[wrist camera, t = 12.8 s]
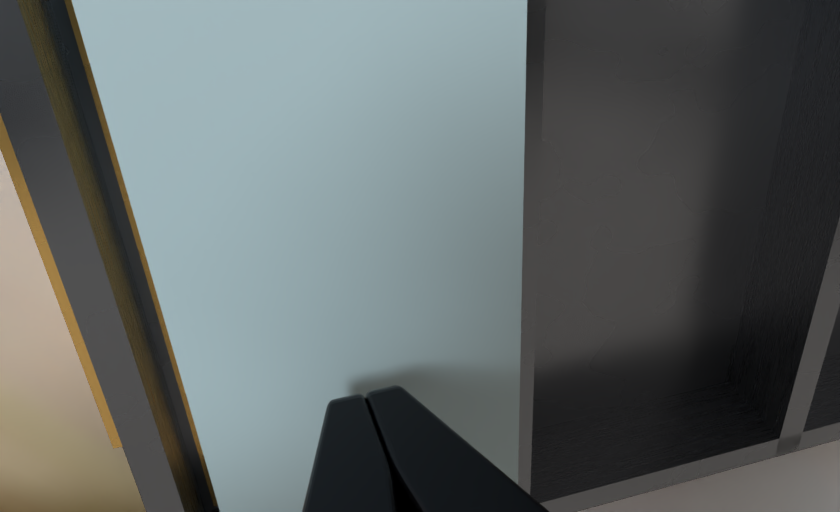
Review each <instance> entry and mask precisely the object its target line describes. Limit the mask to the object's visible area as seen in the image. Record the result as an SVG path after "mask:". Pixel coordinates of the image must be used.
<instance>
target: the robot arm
mask: <svg viewBox="0 0 840 512" xmlns="http://www.w3.org/2000/svg"><path fill="white" fill-rule="evenodd" d="M302 512H549V511H548V510H547V509H546V508H545V507H544V506H542V505H541V504H540V503H539V502H538V501H536V500H535V499H534V498H533V497H532V496H531V495H529V494H528V493H527V492H526V491H525V490H523V489H522V488H521V487H520V486H519V485H518V484H516V483H515V482H514V481H513V480H512V479H510V478H509V477H508V476H507V475H506V474H505V473H503V472H502V471H501V470H500V469H499V468H497V467H496V466H495V465H494V464H493V463H492V462H490V461H489V460H488V459H487V458H486V457H484V456H483V455H482V454H481V453H480V452H479V451H477V450H476V449H475V448H474V447H473V446H471V445H470V444H469V443H468V442H467V441H466V440H464V439H463V438H462V437H461V436H460V435H458V434H457V433H456V432H455V431H454V430H453V429H451V428H450V427H449V426H448V425H447V424H445V423H444V422H443V421H442V420H441V419H440V418H438V417H437V416H436V415H435V414H434V413H432V412H431V411H430V410H429V409H428V408H427V407H425V406H424V405H423V404H422V403H421V402H419V401H418V400H417V399H416V398H415V397H414V396H412V395H411V394H410V393H409V392H408V391H406V390H405V389H404V388H403V387H401V386H398V385H393V386H389V387H385V388H380V389H376V390H371V391H369V392H368V393H367V394H366V396H365V397H364V396H363V395H362V394H354V395H350V396H345V397H341V398H337V399H333V400H331V401H330V402H329V403H328V405H327V408H326V412H325V416H324V420H323V425H322V429H321V433H320V437H319V441H318V446H317V450H316V454H315V458H314V462H313V467H312V471H311V475H310V479H309V484H308V488H307V492H306V496H305V500H304V505H303V509H302Z"/></svg>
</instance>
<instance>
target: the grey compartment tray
mask: <svg viewBox="0 0 840 512" xmlns="http://www.w3.org/2000/svg"><path fill="white" fill-rule="evenodd" d="M0 149H1V152H2V154H3V157H4V160H5V162H6V165H7V168H8V170H9V173H10V176H11V178H12V181H13V184H14V186H15V189H16V191H17V194H18V197H19V199H20V202H21V205H22V207H23V210H24V213H25V215H26V218H27V221H28V223H29V226H30V229H31V231H32V234H33V237H34V239H35V242H36V245H37V247H38V250H39V253H40V255H41V258H42V260H43V263H44V266H45V268H46V271H47V274H48V276H49V279H50V282H51V284H52V287H53V290H54V292H55V295H56V298H57V300H58V303H59V306H60V308H61V311H62V314H63V316H64V319H65V322H66V324H67V327H68V329H69V332H70V335H71V337H72V340H73V343H74V345H75V348H76V351H77V353H78V356H79V359H80V361H81V364H82V367H83V369H84V372H85V375H86V377H87V380H88V383H89V385H90V388H91V391H92V393H93V396H94V398H95V401H96V404H97V406H98V409H99V412H100V414H101V417H102V420H103V422H104V425H105V428H106V430H107V433H108V436H109V438H110V441H111V444H112V446H113V449H114V448H118V447H123V449H124V452H125V455H126V457H127V460H128V463H129V465H130V468H131V471H132V474H133V476H134V479H135V482H136V485H137V487H138V490H139V493H140V495H141V498H142V501H143V504H144V506H145V509H146V512H220V510H219V507H218V503H217V500H216V496H215V493H214V489H213V486H212V482H211V479H210V476H209V472H208V469H207V465H206V462H205V458H204V455H203V451H202V448H201V445H200V441H199V438H198V434H197V431H196V427H195V424H194V420H193V417H192V414H191V410H190V407H189V403H188V400H187V396H186V393H185V389H184V386H183V383H182V379H181V376H180V372H179V369H178V365H177V362H176V359H175V355H174V352H173V348H172V345H171V341H170V338H169V334H168V331H167V328H166V324H165V321H164V317H163V314H162V310H161V307H160V303H159V300H158V297H157V293H156V290H155V286H154V283H153V279H152V276H151V272H150V269H149V266H148V262H147V259H146V255H145V252H144V248H143V245H142V241H141V238H140V235H139V231H138V228H137V224H136V221H135V217H134V214H133V210H132V207H131V204H130V200H129V197H128V193H127V190H126V186H125V183H124V180H123V176H122V173H121V169H120V166H119V162H118V159H117V155H116V152H115V149H114V145H113V142H112V138H111V135H110V131H109V128H108V124H107V121H106V118H105V114H104V111H103V107H102V104H101V100H100V97H99V93H98V90H97V87H96V83H95V80H94V76H93V73H92V69H91V66H90V62H89V59H88V56H87V52H86V49H85V45H84V42H83V38H82V35H81V31H80V28H79V25H78V21H77V18H76V14H75V11H74V7H73V4H72V1H71V0H0ZM839 439H840V0H527V41H526V94H525V146H524V198H523V250H522V302H521V354H520V406H519V458H518V485H519V486H520V487H521V488H522V489H523V490H525V491H526V492H527V493H528V494H529V495H531V496H532V497H533V498H534V499H535V500H536V501H538V502H539V503H540V504H541V505H542V506H544V507H545V508H546V509H547V510H548V511H549V512H577V511H581V510H584V509H588V508H591V507H595V506H599V505H602V504H606V503H610V502H613V501H617V500H621V499H624V498H628V497H632V496H635V495H639V494H642V493H646V492H650V491H653V490H657V489H661V488H664V487H668V486H672V485H675V484H679V483H683V482H686V481H690V480H693V479H697V478H701V477H704V476H708V475H712V474H715V473H719V472H723V471H726V470H730V469H734V468H737V467H741V466H744V465H748V464H752V463H755V462H759V461H763V460H766V459H770V458H774V457H777V456H781V455H784V454H788V453H792V452H795V451H799V450H803V449H806V448H810V447H814V446H817V445H821V444H825V443H828V442H832V441H835V440H839Z"/></svg>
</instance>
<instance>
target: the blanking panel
mask: <svg viewBox="0 0 840 512" xmlns="http://www.w3.org/2000/svg"><path fill="white" fill-rule="evenodd" d="M71 1H72V4H73V7H74V11H75V14H76V18H77V21H78V25H79V28H80V31H81V35H82V38H83V42H84V45H85V49H86V52H87V56H88V59H89V62H90V66H91V69H92V73H93V76H94V80H95V83H96V87H97V90H98V93H99V97H100V100H101V104H102V107H103V111H104V114H105V118H106V121H107V124H108V128H109V131H110V135H111V138H112V142H113V145H114V149H115V152H116V155H117V159H118V162H119V166H120V169H121V173H122V176H123V180H124V183H125V186H126V190H127V193H128V197H129V200H130V204H131V207H132V210H133V214H134V217H135V221H136V224H137V228H138V231H139V235H140V238H141V241H142V245H143V248H144V252H145V255H146V259H147V262H148V266H149V269H150V272H151V276H152V279H153V283H154V286H155V290H156V293H157V297H158V300H159V303H160V307H161V310H162V314H163V317H164V321H165V324H166V328H167V331H168V334H169V338H170V341H171V345H172V348H173V352H174V355H175V359H176V362H177V365H178V369H179V372H180V376H181V379H182V383H183V386H184V389H185V393H186V396H187V400H188V403H189V407H190V410H191V414H192V417H193V420H194V424H195V427H196V431H197V434H198V438H199V441H200V445H201V448H202V451H203V455H204V458H205V462H206V465H207V469H208V472H209V476H210V479H211V482H212V486H213V489H214V493H215V496H216V500H217V503H218V507H219V510H220V512H302V509H303V505H304V500H305V496H306V492H307V488H308V484H309V479H310V475H311V471H312V467H313V462H314V458H315V454H316V450H317V446H318V441H319V437H320V433H321V429H322V425H323V420H324V416H325V412H326V408H327V405H328V403H329V402H330V401H331V400H333V399H337V398H341V397H345V396H350V395H354V394H362V395H363V396H364V397H365V396H366V394H367V393H368V392H369V391H371V390H376V389H380V388H385V387H389V386H393V385H398V386H401V387H403V388H404V389H405V390H406V391H408V392H409V393H410V394H411V395H412V396H414V397H415V398H416V399H417V400H418V401H419V402H421V403H422V404H423V405H424V406H425V407H427V408H428V409H429V410H430V411H431V412H432V413H434V414H435V415H436V416H437V417H438V418H440V419H441V420H442V421H443V422H444V423H445V424H447V425H448V426H449V427H450V428H451V429H453V430H454V431H455V432H456V433H457V434H458V435H460V436H461V437H462V438H463V439H464V440H466V441H467V442H468V443H469V444H470V445H471V446H473V447H474V448H475V449H476V450H477V451H479V452H480V453H481V454H482V455H483V456H484V457H486V458H487V459H488V460H489V461H490V462H492V463H493V464H494V465H495V466H496V467H497V468H499V469H500V470H501V471H502V472H503V473H505V474H506V475H507V476H508V477H509V478H510V479H512V480H513V481H514V482H515V483H516V484H518V458H519V406H520V354H521V302H522V250H523V198H524V146H525V94H526V41H527V0H71Z"/></svg>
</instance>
